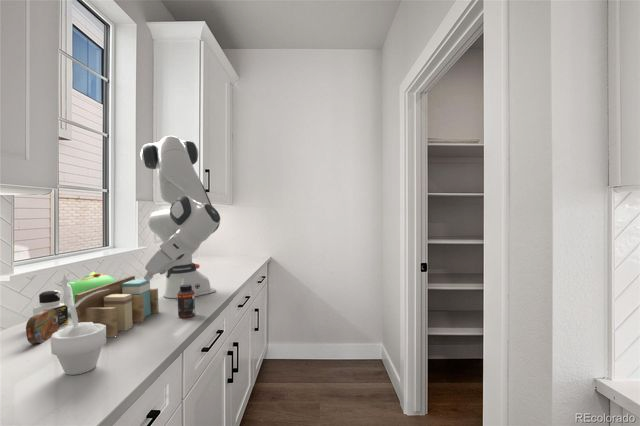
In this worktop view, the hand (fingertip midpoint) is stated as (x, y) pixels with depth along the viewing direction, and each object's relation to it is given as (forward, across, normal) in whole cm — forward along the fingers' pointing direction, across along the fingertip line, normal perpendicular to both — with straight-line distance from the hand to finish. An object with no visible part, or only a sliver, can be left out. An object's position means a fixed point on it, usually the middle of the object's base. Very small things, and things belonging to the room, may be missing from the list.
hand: (153, 276), depth 122 cm
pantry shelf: (+22, -3, +3) cm, 22 cm away
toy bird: (+39, -23, -14) cm, 47 cm away
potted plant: (+14, +31, +10) cm, 36 cm away
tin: (+34, +10, -10) cm, 37 cm away
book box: (+21, +1, +4) cm, 21 cm away
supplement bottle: (+9, -13, +16) cm, 22 cm away
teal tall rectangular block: (+22, -12, +3) cm, 25 cm away
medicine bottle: (+40, -2, -15) cm, 42 cm away
